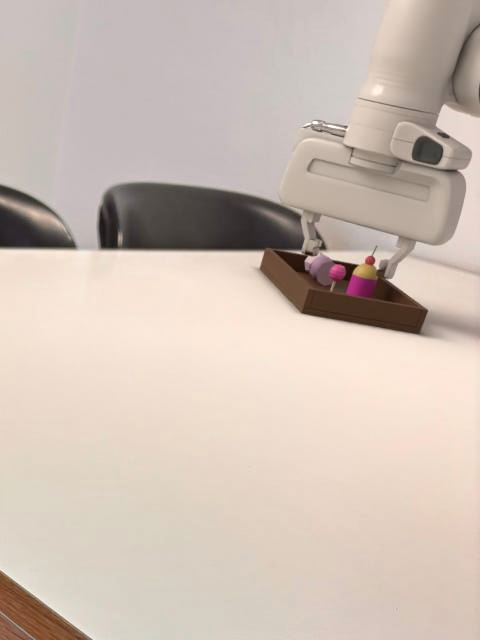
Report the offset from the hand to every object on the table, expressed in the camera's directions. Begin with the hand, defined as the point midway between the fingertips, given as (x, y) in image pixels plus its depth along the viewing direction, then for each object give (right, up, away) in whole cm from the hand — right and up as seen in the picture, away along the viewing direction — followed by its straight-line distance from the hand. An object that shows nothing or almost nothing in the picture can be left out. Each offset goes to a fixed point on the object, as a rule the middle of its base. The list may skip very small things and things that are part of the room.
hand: (345, 266), depth 123 cm
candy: (-1, -3, +2) cm, 3 cm away
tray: (-1, -3, +2) cm, 4 cm away
